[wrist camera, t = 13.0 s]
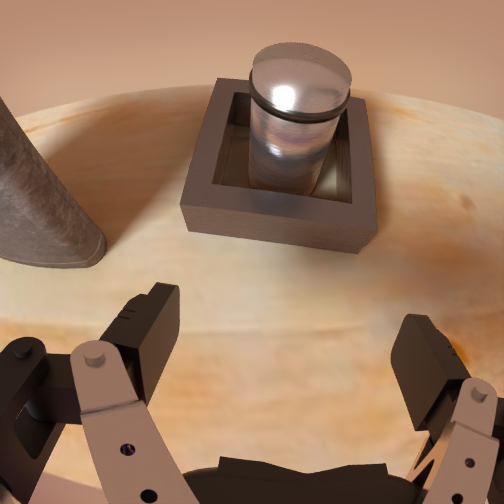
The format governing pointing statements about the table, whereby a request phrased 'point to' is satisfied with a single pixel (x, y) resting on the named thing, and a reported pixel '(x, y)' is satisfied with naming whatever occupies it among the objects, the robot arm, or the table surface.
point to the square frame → (274, 203)
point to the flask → (40, 209)
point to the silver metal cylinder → (293, 115)
